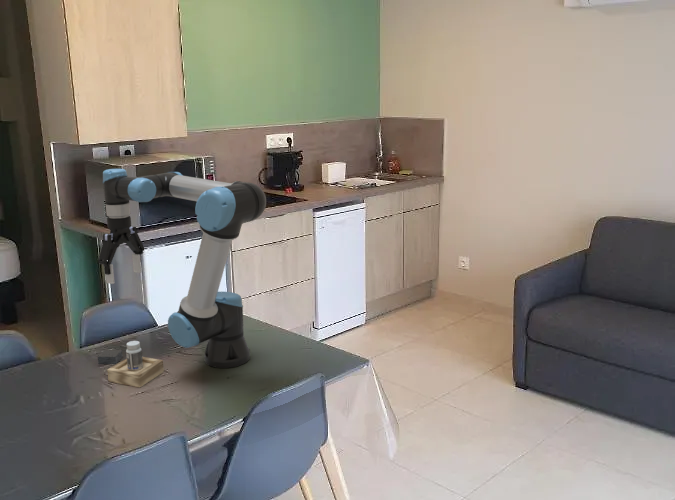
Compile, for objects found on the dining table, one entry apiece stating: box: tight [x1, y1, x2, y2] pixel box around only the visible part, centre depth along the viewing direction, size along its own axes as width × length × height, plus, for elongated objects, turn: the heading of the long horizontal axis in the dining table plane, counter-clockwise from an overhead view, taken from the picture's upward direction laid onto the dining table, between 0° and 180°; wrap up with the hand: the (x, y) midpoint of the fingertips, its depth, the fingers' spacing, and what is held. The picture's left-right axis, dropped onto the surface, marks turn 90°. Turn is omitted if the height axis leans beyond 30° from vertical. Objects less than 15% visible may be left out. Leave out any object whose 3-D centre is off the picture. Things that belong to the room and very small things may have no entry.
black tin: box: [97, 349, 124, 365], centre depth 216 cm, size 6×6×3 cm
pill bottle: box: [125, 340, 143, 371], centre depth 203 cm, size 5×5×8 cm
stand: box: [106, 356, 165, 388], centre depth 204 cm, size 12×12×4 cm
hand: (124, 277), depth 218 cm, fingers open, 13 cm apart
